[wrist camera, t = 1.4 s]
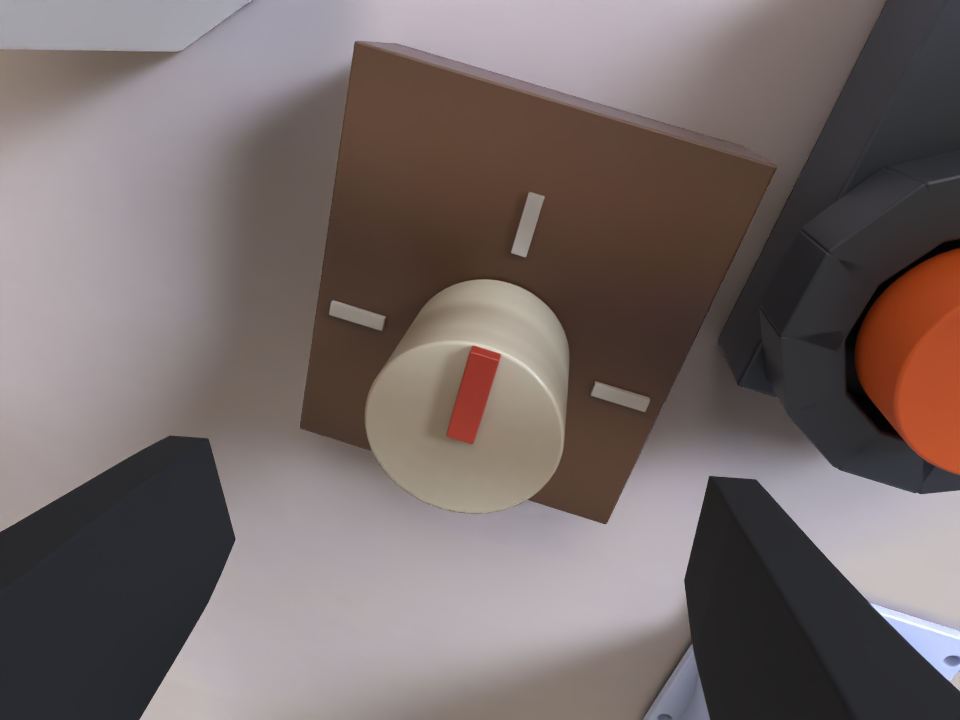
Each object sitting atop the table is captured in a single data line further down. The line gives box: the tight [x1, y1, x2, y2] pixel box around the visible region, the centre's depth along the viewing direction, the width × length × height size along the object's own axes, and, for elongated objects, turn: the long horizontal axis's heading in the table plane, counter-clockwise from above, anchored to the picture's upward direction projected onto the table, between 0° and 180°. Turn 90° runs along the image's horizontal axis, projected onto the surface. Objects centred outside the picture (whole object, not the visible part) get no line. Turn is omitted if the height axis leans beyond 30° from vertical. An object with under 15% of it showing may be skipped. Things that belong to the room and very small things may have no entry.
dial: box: [365, 279, 570, 514], centre depth 14 cm, size 4×4×4 cm
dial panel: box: [300, 41, 776, 524], centre depth 16 cm, size 10×9×3 cm
